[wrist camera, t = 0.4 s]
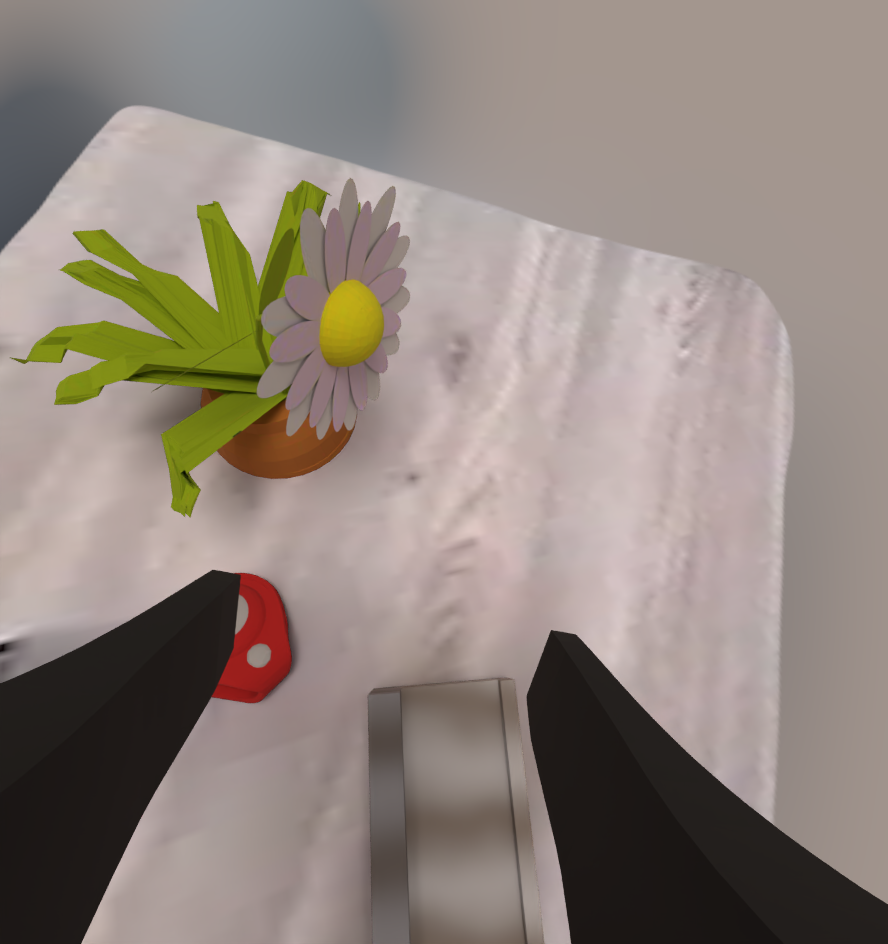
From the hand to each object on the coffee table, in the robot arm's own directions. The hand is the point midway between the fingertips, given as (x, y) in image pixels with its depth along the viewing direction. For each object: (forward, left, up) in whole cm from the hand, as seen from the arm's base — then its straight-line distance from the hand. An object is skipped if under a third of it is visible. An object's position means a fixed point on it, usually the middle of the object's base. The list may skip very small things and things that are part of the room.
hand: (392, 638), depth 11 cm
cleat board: (-12, -3, -28) cm, 31 cm away
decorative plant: (+22, +10, -28) cm, 37 cm away
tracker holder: (+2, +14, -29) cm, 32 cm away
